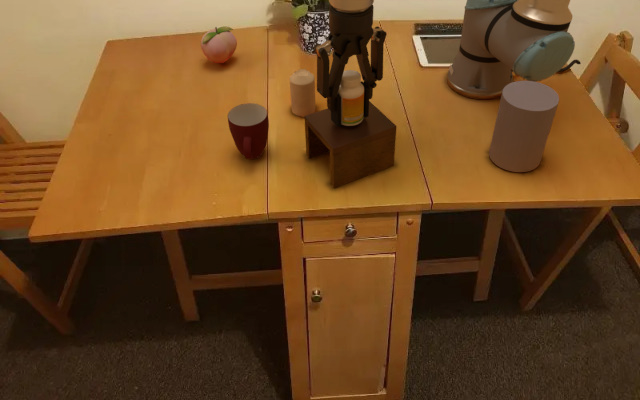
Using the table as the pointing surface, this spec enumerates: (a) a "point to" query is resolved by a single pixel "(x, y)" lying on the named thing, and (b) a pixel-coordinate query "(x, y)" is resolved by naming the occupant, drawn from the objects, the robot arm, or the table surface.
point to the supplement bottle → (351, 98)
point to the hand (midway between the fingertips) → (349, 117)
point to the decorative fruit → (219, 44)
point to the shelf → (351, 144)
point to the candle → (302, 92)
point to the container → (523, 125)
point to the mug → (249, 129)
